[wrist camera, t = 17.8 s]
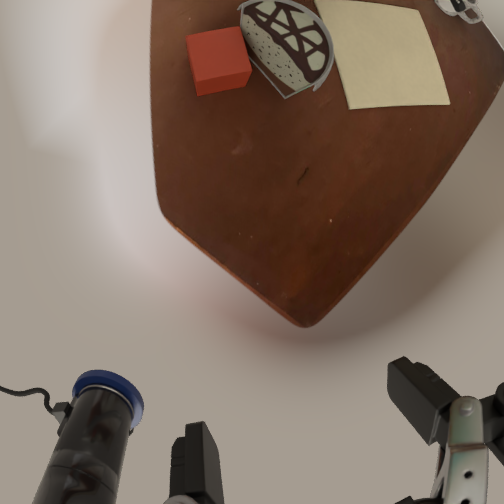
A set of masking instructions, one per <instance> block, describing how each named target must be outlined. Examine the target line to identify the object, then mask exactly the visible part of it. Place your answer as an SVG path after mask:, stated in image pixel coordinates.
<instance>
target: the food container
mask: <svg viewBox="0 0 504 504" xmlns="http://www.w3.org/2000/svg"><path fill="white" fill-rule="evenodd" d="M240 9H241V19H240V28H241V32H242V35H243V39H244V42H245V46H246V49H247V53H248V56H249V59H250V60H251V61H252V62H253V63H254V64H255V66H256V67H257V68H258V69H259V70H260V71H261V72H262V73H263V74H264V75H265V77H266V78H267V79H268V80H269V81H270V82H271V83H272V85H273V86H274V87H275V88H276V89H277V90H278V92H279V93H280V94H281V95H282V96H283V97H284V99H286V98H288V97H290V96H292V95H294V94H296V93H298V92H300V91H302V90H304V89H306V88H308V87H310V86H312V85H315V87H314V89H313V92H314V91H315V90H316V89H318V88H319V87H320V86H321V85H322V83H323V82H324V81H325V79H326V77H327V76H328V74H329V72H330V70H331V67H332V64H333V59H334V45H333V41H332V37H331V35H330V32H329V30H328V29H327V27H326V25H325V24H324V23H323V22H322V20H321V19H320V18H319V17H318V16H317V15H316V14H315V13H313V12H312V11H311V10H309V9H308V8H306V7H304V6H303V5H301V4H299V3H296V2H294V1H291V0H249V1H247V2H244V3H243V4H241V5H240V6H239V7H238V9H237V10H240Z"/></svg>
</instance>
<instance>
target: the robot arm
mask: <svg viewBox="0 0 504 504" xmlns="http://www.w3.org/2000/svg"><path fill="white" fill-rule="evenodd" d="M387 390H388V394H389V397H390V399H391V400H392V401H393V403H394V404H395V405H396V406H397V408H399V410H400V411H401V412H402V414H403V415H404V416H405V417H406V418H407V420H408V421H409V422H410V423H411V424H412V426H413V427H414V428H415V429H416V431H417V432H418V433H419V434H420V436H421V437H422V438H423V439H424V441H425V442H426V443H427V444H428V445H431V444H432V443H434V442H436V441H437V442H438V443H439V444H440V446H439V451H438V459H437V466H436V473H435V479H434V484H433V488H432V491H431V495H430V498H422V499H417V500H413V499H412V498H411V496H408V497H407V498H405V499H403V500H401V501H399V502H397V503H395V504H486V501H487V488H488V462H489V461H488V459H489V453H488V448H489V449H490V450H491V451H492V452H493V454H494V455H495V456H496V457H497V458H498V460H499V461H500V462H501V463H502V465H503V466H504V382H503V383H501V384H500V385H499V386H498V388H497V390H496V393H495V394H494V395H491V396H489V397H485V398H483V399H479V400H478V399H476V398H475V397H472V396H463V397H462V396H460V395H459V394H458V393H457V392H456V391H455V390H454V389H453V388H451V387H450V386H449V385H448V384H447V383H446V382H445V381H444V380H443V379H440V377H439V376H438V375H437V374H436V373H434V371H433V370H432V369H430V368H429V367H428V366H427V365H424V364H422V363H419V362H416V363H414V364H413V363H412V362H411V361H410V360H409V359H408V358H406V357H404V356H403V357H401V358H399V359H396V360H394V361H392V362H390V363H389V364H388V379H387ZM0 391H2V392H5V393H7V394H10V395H14V396H27V395H30V394H34V393H42V394H43V395H44V396H45V398H44V405H45V408H46V409H47V411H48V412H49V413H51V414H52V415H54V416H55V418H56V419H57V420H58V422H59V423H60V426H59V429H58V431H57V434H58V436H59V440H58V442H57V444H56V447H55V449H54V451H53V454H52V456H51V459H50V461H49V464H48V466H47V469H46V471H45V473H44V476H43V478H42V481H41V483H40V485H39V487H38V490H37V493H36V495H35V497H34V500H33V502H32V504H116V498H117V492H118V487H119V480H120V475H121V470H122V465H123V460H124V456H125V451H126V446H127V442H128V437H129V436H130V434H132V433H133V429H134V428H133V429H132V430H131V431H130V429H131V424H132V421H133V418H134V413H135V411H134V407H133V404H132V402H131V401H130V399H129V398H128V397H127V396H126V395H125V394H124V393H123V392H121V391H120V390H118V389H116V388H115V387H112V386H110V385H107V384H103V383H91V384H88V385H86V386H84V387H83V388H82V389H81V391H80V393H77V394H75V396H74V398H73V400H72V402H71V404H69V402H62V403H61V402H60V403H56V404H55V406H54V408H53V409H52V408H51V407H50V405H49V400H50V395H49V393H48V392H47V391H46V390H44V389H42V388H33V389H29V390H25V391H13V390H9V389H6V388H4V387H1V386H0ZM484 443H485V444H484ZM171 453H172V454H171V458H172V459H171V470H170V494H169V499H167V500H166V501H165V502H164V503H163V504H224V497H223V488H222V479H221V469H220V460H219V452H218V449H217V446H216V443H215V441H214V439H213V437H212V435H211V433H210V431H209V430H208V427H207V425H206V424H205V422H204V421H201V422H196V423H190V424H186V428H185V437H179V438H177V439H176V441H175V442H174V444H173V446H172V452H171Z"/></svg>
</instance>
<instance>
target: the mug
mask: <svg viewBox="0 0 504 504" xmlns="http://www.w3.org/2000/svg"><path fill="white" fill-rule="evenodd" d="M434 1H435V3H436V4H437V5H438V7H439V8H440V9H441V10H442V11H444V12H445V13H446V14H448V15H450V16H455V15H457V14H458V15H459V16H460V17H461V18H463V19H464V20H465V21H467V22H468V23H469V24H473V23H477V22H479V21H481V20H482V19H483V15H482V13H481V11H480V10H479V8H478V6H477V4H478V1H477V0H434ZM470 8H472V10H473V11H475V12H476V13H477V15H478V16H477V17H476V18H474V19H470V18H468V17H467V16H466V14H465V13H464V11H466V10H468V9H470Z"/></svg>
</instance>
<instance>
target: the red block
mask: <svg viewBox="0 0 504 504" xmlns="http://www.w3.org/2000/svg"><path fill="white" fill-rule="evenodd" d="M185 37H186V45H187V53H188V59H189V63H190V67H191V72H192V76H193V80H194V85H195V89H196V93H197V96H202V95H206V94H211V93H215V92H220V91H225V90H230V89H235V88H240V87H245V86H246V84H247V81H248V79H249V77H250V75H251V72H252V67H251V64H250V60H249V56H248V53H247V49H246V46H245V42H244V39H243V35H242V32H241V28H240V26H237V27H230V28H223V29H218V30H212V31H207V32H202V33H197V34H192V35H187V36H185Z"/></svg>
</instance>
